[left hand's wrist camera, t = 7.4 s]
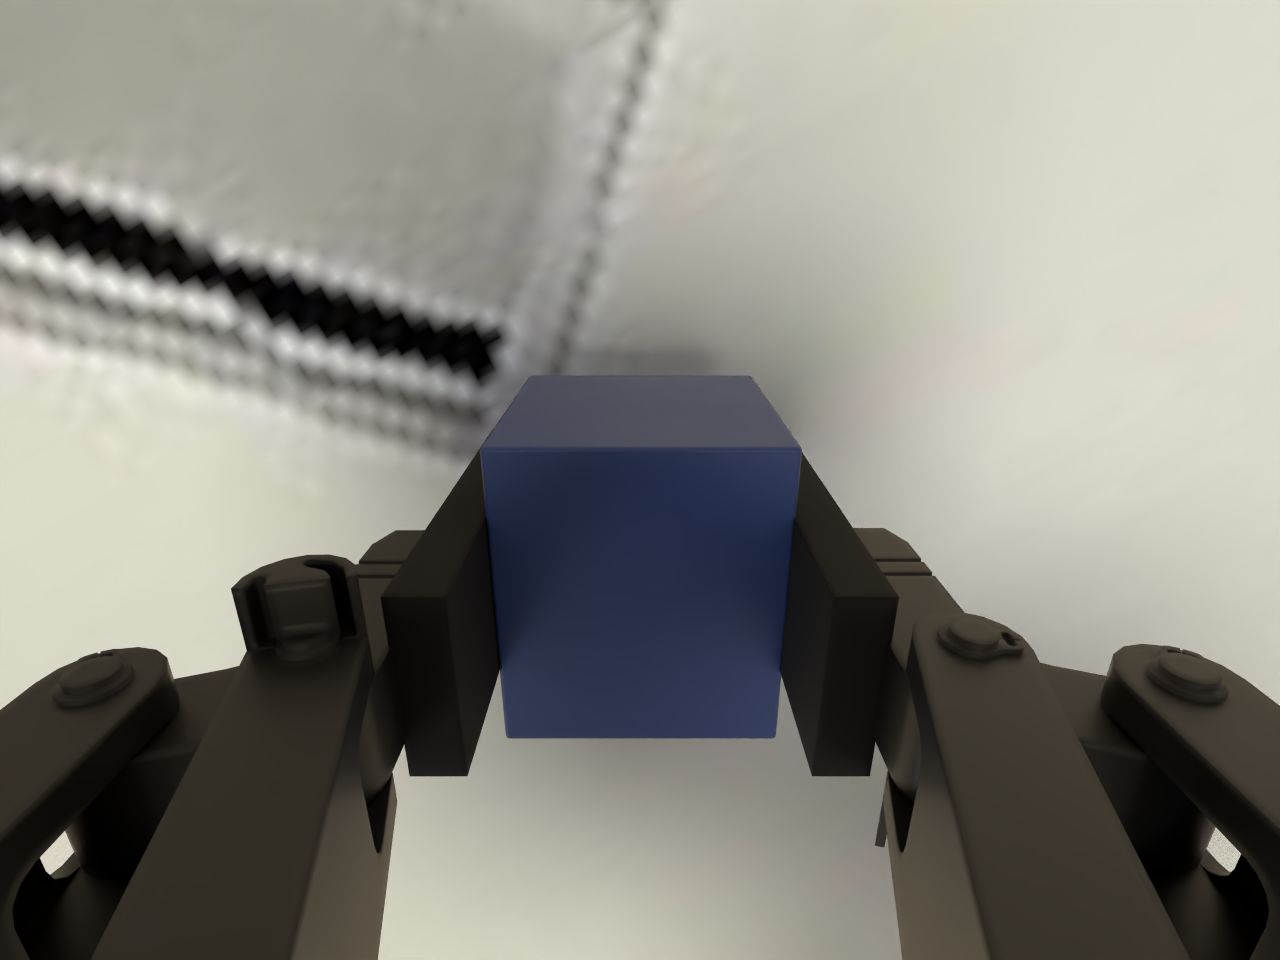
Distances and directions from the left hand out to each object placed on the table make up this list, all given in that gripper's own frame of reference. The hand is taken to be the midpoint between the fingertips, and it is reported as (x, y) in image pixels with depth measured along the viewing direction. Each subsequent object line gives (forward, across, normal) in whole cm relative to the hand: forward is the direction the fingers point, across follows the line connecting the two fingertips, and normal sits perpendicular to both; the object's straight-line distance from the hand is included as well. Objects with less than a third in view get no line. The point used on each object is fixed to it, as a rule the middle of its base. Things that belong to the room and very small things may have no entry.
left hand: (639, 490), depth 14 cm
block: (0, 0, 0) cm, 0 cm away
